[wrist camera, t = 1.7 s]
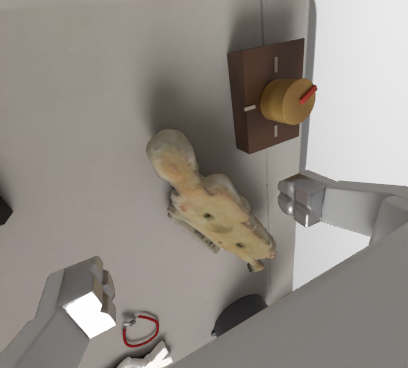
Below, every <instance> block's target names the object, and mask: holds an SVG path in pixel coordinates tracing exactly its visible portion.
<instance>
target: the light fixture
mask: <svg viewBox="0 0 408 368" xmlns="http://www.w3.org/2000/svg"><path fill="white" fill-rule="evenodd" d="M267 307H268V305H267V304H266V302H265V301H264V299H263V298H262V297H261V296H259V295H249V296H246V297H243V298H241V299H239V300H238V301H236V302H234V303H233V304H232V305H230V306H229V307H228V308H227V309H226V310H225V311H224V312H223V313H222V314H221V315H220V317H219V318H218V320H217V322H216V324H215V327H214V332H213V333H212V334H211V336H212V337H214V336H217V337H219V336H221V335H222V334H224V333H226V332H227V331H229V330H231V329H232V328H234V327H236V326H237V325H239V324H240V323H242V322H244V321H245V320H247V319H249V318H250V317H252V316H254V315H255V314H257V313H259V312H260V311H262V310H263V309H265V308H267Z"/></svg>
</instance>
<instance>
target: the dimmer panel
mask: <svg viewBox="0 0 408 368" xmlns="http://www.w3.org/2000/svg"><path fill="white" fill-rule="evenodd" d="M304 41H305V38H302V39H297V40H292V41H287V42H282V43H277V44H272V45H267V46H262V47H257V48H252V49H247V50H242V51H238V52H233V53H229V54H227V58H228V67H229V77H230V87H231V97H232V107H233V117H234V127H235V137H236V146H237V149H239V150H242V151H244V152H246V153H248V154H252V153H254V152H257V151H260V150H262V149H265V148H268V147H271V146H273V145H276V144H279V143H281V142H284V141H287V140H290V139H292V138H295V137H298V136H299V124H296V125H291V124H286V123H281V122H277V121H272V120H268V119H266V118H265V117H264V116H263V114H262V112H261V108H260V99H261V95H262V93H263V91H264V89H265V87H266V86H267V85H268V84H269V83H270V82H271V81H273V80H276V79H297V78H302V74H303V57H304Z"/></svg>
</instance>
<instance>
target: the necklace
mask: <svg viewBox="0 0 408 368" xmlns="http://www.w3.org/2000/svg"><path fill="white" fill-rule="evenodd" d="M138 317H139V318H143V319H144V318H145V319H148V320H150V321H153V322H155V323H156V324H157V330H156V334H155V335H154V336H153V337H152V338H150V340H148V341H146V342H144V343H141V344H137V345H131V344H129V343H127V341H126V337H125V336H126V335H125V332H126V326H127V325H130V326H132V325H133V324H135V322H136V320H135V318H136V317H134V319H133V320H132V321H130V322H128V323H123V325H124V326H125V328H124V331H123V340H124V343H125V344H126V346H128V347H132V348H133V347H138V346H142V345H143V344H144V345H145V344H147V343H148V342H150V341H152V339H154V338H155V337H156V336H157V334H158V332H159V323H158V321H157V320H155V319H153V318H150V317H147V316H143V315H142V316H141V315H139V316H138Z"/></svg>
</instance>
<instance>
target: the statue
mask: <svg viewBox="0 0 408 368" xmlns="http://www.w3.org/2000/svg"><path fill="white" fill-rule="evenodd" d="M146 152H147V155H148V158H149V160H150V162H151V163H152V165H153V167H154V170H155V172H156V174H157V175H158V176H159V177H160V178H162V179H163V180H165V181H167V182H169V183H170V184H171V185H172V186H173V187H174V188H175V189H176V190H175V189H172V191H171V200H172V203H171V204H170V205H169V207H168V208H167V211H168V212H169V213H168V217H169V218H170V219H171V220H173V221H174V222H175V223H176V224H178V225H179V226H180V227H182V228H183V229H184V230H186V231H187V232H188V233H189V234H191V235H192V236H193V237H195V238H196V239H197V240H199V241H200V242H202V243H203V244H204V245H206V246H207V247H208V248H209V249H210V250H212V251H213V252H214V253H215V254H216V253H217V252H218V251H219V249H220V248H222V249H224V250H226V251H229V252H232V253H233V254H235V255H236V256H237V257H239V258H240V259H242V260H244V261H246V262H247V263H248V264H247V266H248V269H249V272H257V271H260V270H262V269H264V264H263V263H262V262H261V261H260V260H259V259H260V258H262V259H264V258H266V257H267V258H269V259H271V258H274V257H276V254H277V253H276V251H275V248H276V243H275V241H274V239H273V237H272V236H271V235H270V234H269V233H268V232H267V230H266V228H264V227H263V225H262V224H261V223H260V221H259V220H258V219H257V218H256V217H255V216H254V215H253V214H252V212H251V207H250V204H249V202H248V201H247V200H246V198H245V197H243V196H242V195H241V194H240V193H238V192H237V191H236V189H235V188H234V186H233V183H232V181H231V180H230V179H229V177H227V176H226V175H224V174H222V173H214V174H209V175H207V176H206V177H204V176H202V175H201V174H200V173H199V171H198V170H199V168H200V165H199V164H198V162H197V161H196V158H195V153H194V150H193V146H192V145H191V144H190V142H189V141H188V139H187V137H186V136H185V135H184V134H183V133H182V132H181V131H178V130H172V129H164V130H161V131H159V132H158V133H157V134H156V135H155V136H153V137H152V138H151V139H150V140H149V142H148V144H147V149H146Z"/></svg>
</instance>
